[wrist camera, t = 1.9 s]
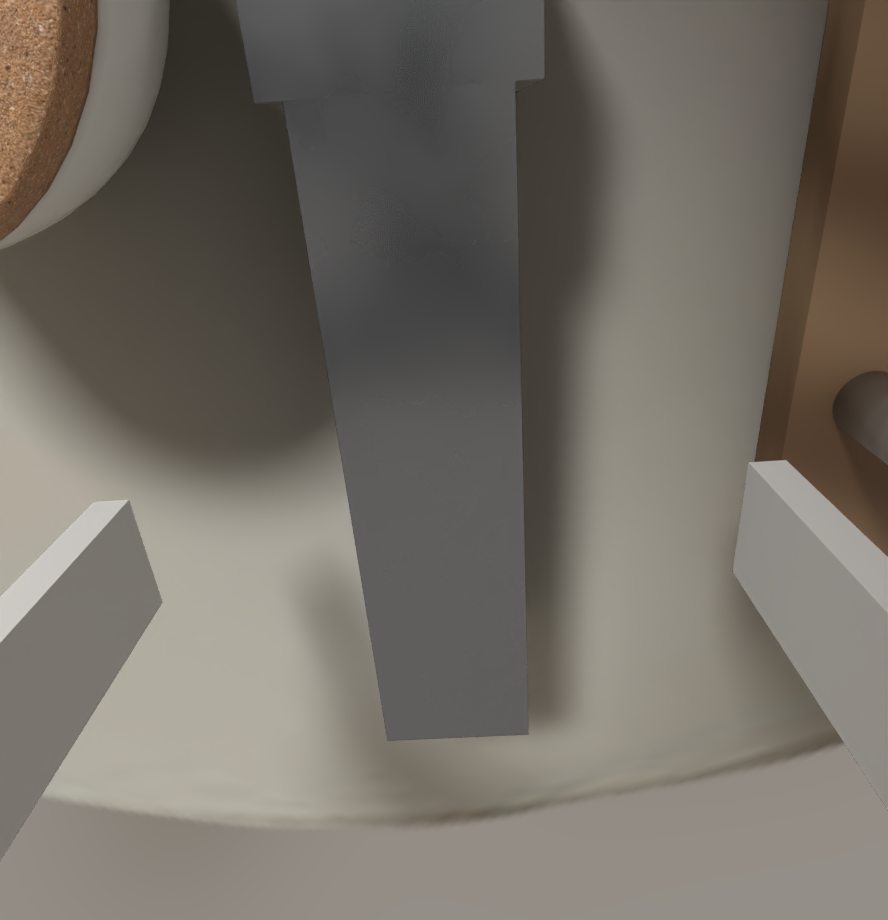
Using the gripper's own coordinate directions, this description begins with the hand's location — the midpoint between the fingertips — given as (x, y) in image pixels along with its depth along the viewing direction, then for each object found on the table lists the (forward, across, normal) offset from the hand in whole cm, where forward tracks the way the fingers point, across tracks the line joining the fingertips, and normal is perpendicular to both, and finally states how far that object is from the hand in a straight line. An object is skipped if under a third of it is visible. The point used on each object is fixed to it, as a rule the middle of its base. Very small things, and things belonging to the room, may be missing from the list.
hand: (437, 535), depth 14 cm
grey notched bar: (+6, 0, +3) cm, 7 cm away
